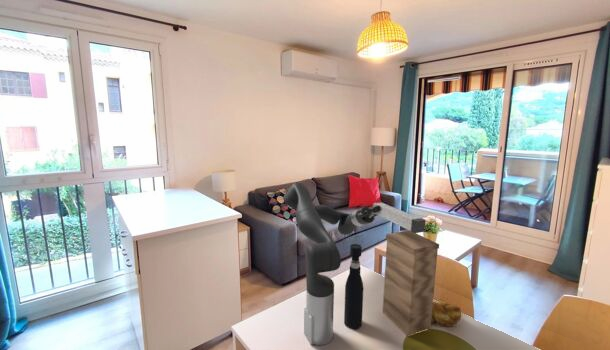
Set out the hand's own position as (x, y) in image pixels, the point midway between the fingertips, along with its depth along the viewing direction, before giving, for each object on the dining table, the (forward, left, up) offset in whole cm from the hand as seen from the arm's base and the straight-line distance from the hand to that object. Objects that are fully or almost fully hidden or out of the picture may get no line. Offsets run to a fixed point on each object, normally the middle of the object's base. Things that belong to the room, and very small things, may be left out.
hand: (384, 207), depth 114 cm
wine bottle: (-19, -10, -39) cm, 45 cm away
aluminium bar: (0, -7, -3) cm, 8 cm away
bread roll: (+12, -20, -40) cm, 46 cm away
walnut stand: (0, -16, -39) cm, 42 cm away
